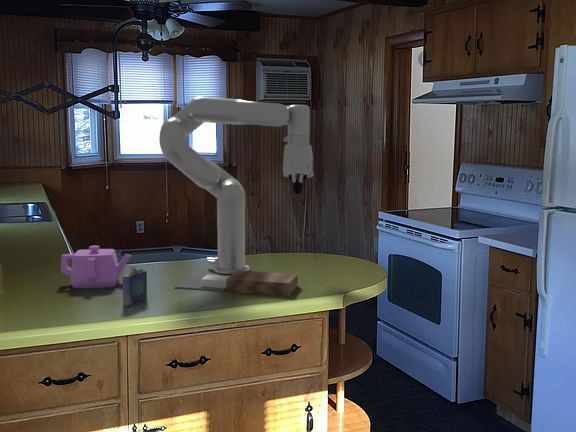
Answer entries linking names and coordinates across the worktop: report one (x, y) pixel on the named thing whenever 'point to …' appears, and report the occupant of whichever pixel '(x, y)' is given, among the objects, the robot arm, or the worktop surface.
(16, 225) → the worktop surface
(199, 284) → the mat
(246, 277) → the deck
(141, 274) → the flask
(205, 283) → the tile
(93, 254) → the teakettle
